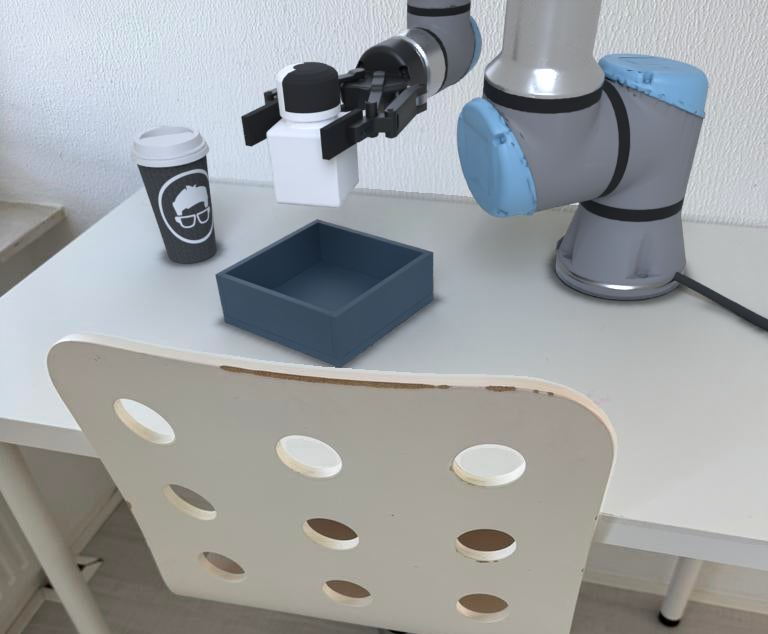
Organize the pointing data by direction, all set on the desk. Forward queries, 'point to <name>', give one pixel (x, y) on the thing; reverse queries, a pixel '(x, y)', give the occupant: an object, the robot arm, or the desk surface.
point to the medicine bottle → (309, 139)
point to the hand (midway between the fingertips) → (284, 138)
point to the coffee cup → (178, 189)
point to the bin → (327, 290)
